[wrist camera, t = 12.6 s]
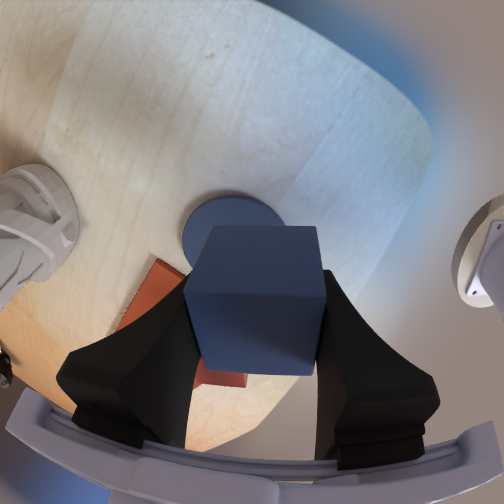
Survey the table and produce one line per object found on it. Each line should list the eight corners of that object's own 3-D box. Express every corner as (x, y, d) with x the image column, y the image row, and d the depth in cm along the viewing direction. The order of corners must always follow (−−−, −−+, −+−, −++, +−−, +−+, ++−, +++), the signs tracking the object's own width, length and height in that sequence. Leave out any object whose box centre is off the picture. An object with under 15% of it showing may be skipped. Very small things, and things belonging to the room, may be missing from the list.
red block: (248, 319, 24) (241, 359, 21) (251, 350, 27) (245, 388, 23) (199, 316, 25) (186, 354, 21) (207, 347, 27) (197, 383, 24)
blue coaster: (291, 194, 19) (291, 197, 18) (290, 289, 23) (289, 293, 22) (175, 197, 20) (173, 199, 19) (193, 286, 24) (192, 289, 23)
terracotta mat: (157, 257, 23) (155, 261, 22) (273, 329, 26) (272, 333, 25) (86, 390, 42) (85, 392, 42) (140, 420, 45) (139, 422, 45)
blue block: (316, 225, 12) (327, 295, 8) (309, 303, 14) (312, 376, 11) (212, 224, 12) (181, 290, 9) (223, 300, 15) (205, 370, 11)
